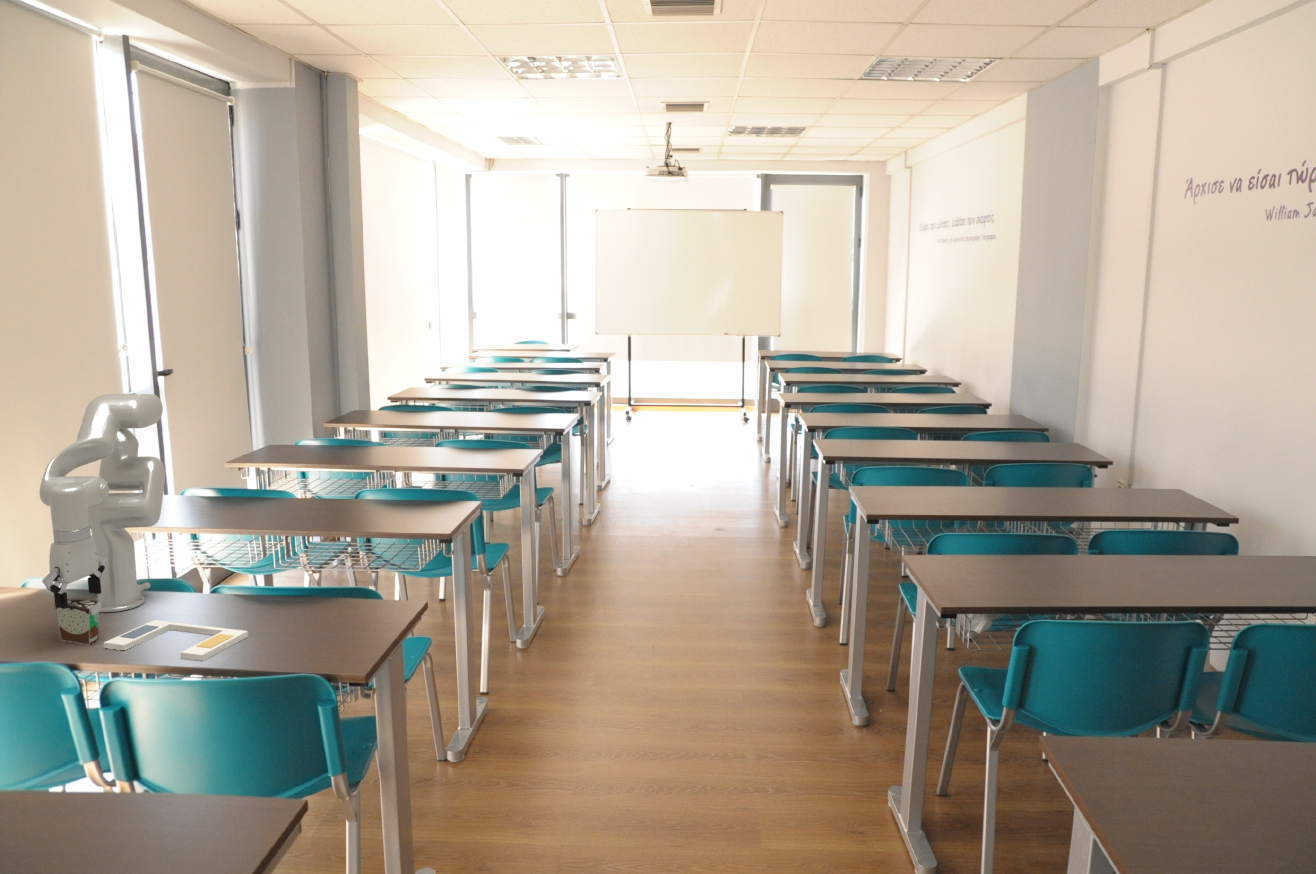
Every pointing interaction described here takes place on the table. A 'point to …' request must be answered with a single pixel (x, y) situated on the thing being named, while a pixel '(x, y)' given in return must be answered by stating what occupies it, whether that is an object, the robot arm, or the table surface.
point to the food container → (79, 620)
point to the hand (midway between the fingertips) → (78, 600)
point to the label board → (197, 652)
